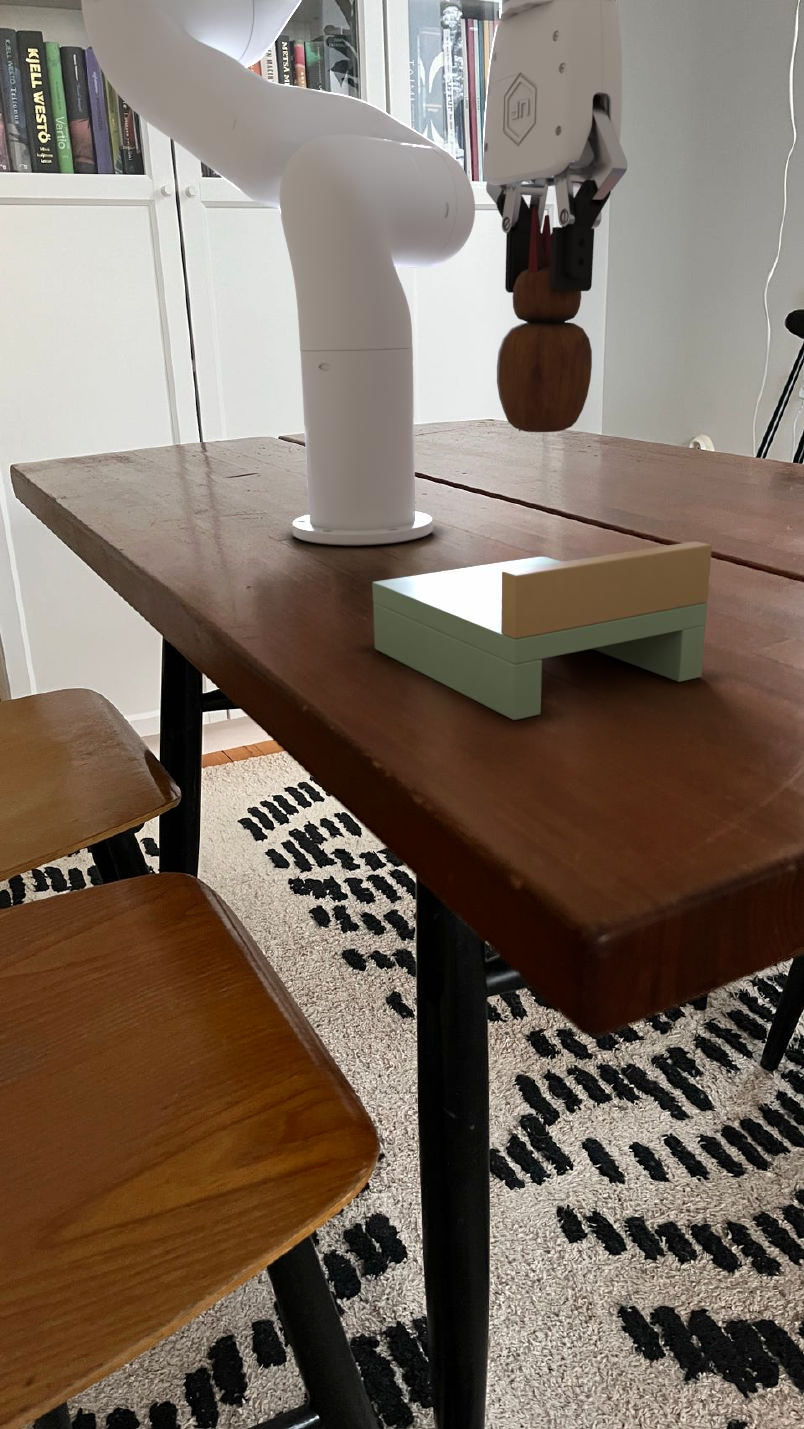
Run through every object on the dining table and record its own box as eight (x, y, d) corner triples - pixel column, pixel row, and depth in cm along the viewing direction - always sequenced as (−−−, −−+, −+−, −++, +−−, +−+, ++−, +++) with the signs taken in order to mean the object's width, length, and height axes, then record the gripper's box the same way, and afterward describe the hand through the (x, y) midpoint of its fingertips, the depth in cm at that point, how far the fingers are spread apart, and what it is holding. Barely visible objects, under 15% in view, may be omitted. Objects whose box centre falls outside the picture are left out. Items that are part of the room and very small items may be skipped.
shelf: (374, 649, 61) (370, 529, 59) (541, 618, 67) (544, 507, 64) (513, 721, 50) (516, 575, 47) (701, 677, 55) (712, 544, 53)
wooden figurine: (526, 436, 75) (533, 203, 70) (483, 429, 80) (486, 210, 74) (602, 430, 78) (615, 206, 72) (557, 424, 83) (565, 212, 77)
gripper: (441, 14, 74) (440, 294, 81) (596, -55, 60) (580, 289, 67) (528, 26, 77) (520, 293, 84) (694, -37, 64) (669, 289, 70)
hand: (547, 288), depth 75 cm, fingers closed on wooden figurine, 4 cm apart
